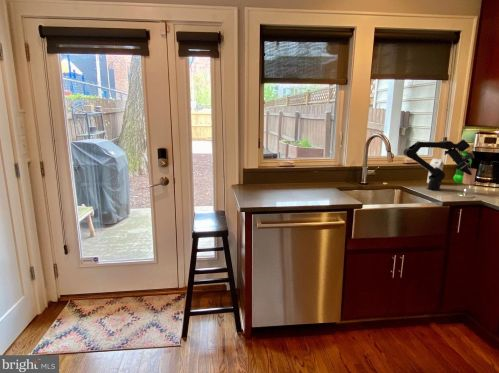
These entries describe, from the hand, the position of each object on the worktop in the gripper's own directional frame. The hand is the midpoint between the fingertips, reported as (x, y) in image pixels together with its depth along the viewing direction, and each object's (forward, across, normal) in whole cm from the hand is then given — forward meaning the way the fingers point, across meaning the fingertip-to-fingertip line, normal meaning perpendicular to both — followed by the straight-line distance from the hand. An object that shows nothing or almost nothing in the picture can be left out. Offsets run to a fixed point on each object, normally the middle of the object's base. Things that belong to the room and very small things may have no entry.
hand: (472, 174), depth 220 cm
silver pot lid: (+9, -9, +10) cm, 16 cm away
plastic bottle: (+2, +36, +17) cm, 40 cm away
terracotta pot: (+4, 0, +6) cm, 7 cm away
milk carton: (-8, +18, +28) cm, 34 cm away
